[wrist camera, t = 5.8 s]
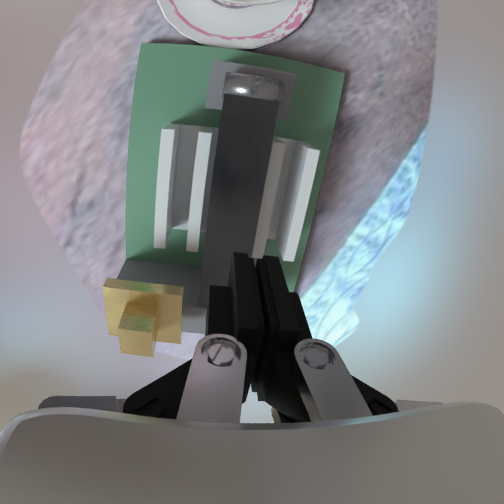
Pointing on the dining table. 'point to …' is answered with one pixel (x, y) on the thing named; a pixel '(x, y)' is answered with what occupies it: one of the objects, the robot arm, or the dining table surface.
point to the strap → (238, 173)
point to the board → (202, 161)
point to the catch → (143, 314)
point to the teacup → (235, 21)
